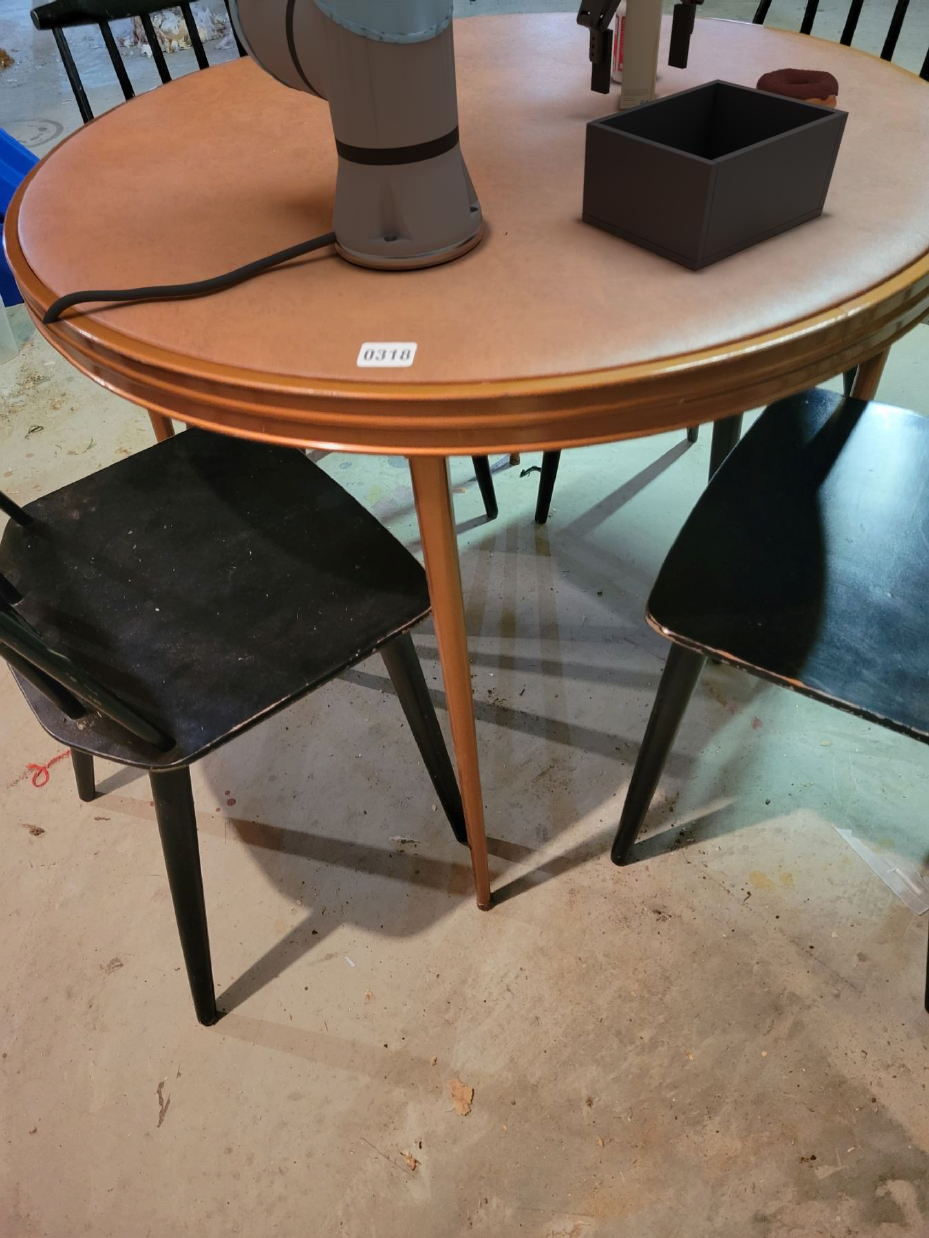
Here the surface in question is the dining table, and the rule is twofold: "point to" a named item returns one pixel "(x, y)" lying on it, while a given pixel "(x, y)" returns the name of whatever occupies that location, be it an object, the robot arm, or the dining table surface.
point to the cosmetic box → (640, 52)
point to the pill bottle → (619, 41)
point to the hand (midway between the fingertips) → (639, 79)
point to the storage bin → (709, 170)
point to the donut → (801, 85)
